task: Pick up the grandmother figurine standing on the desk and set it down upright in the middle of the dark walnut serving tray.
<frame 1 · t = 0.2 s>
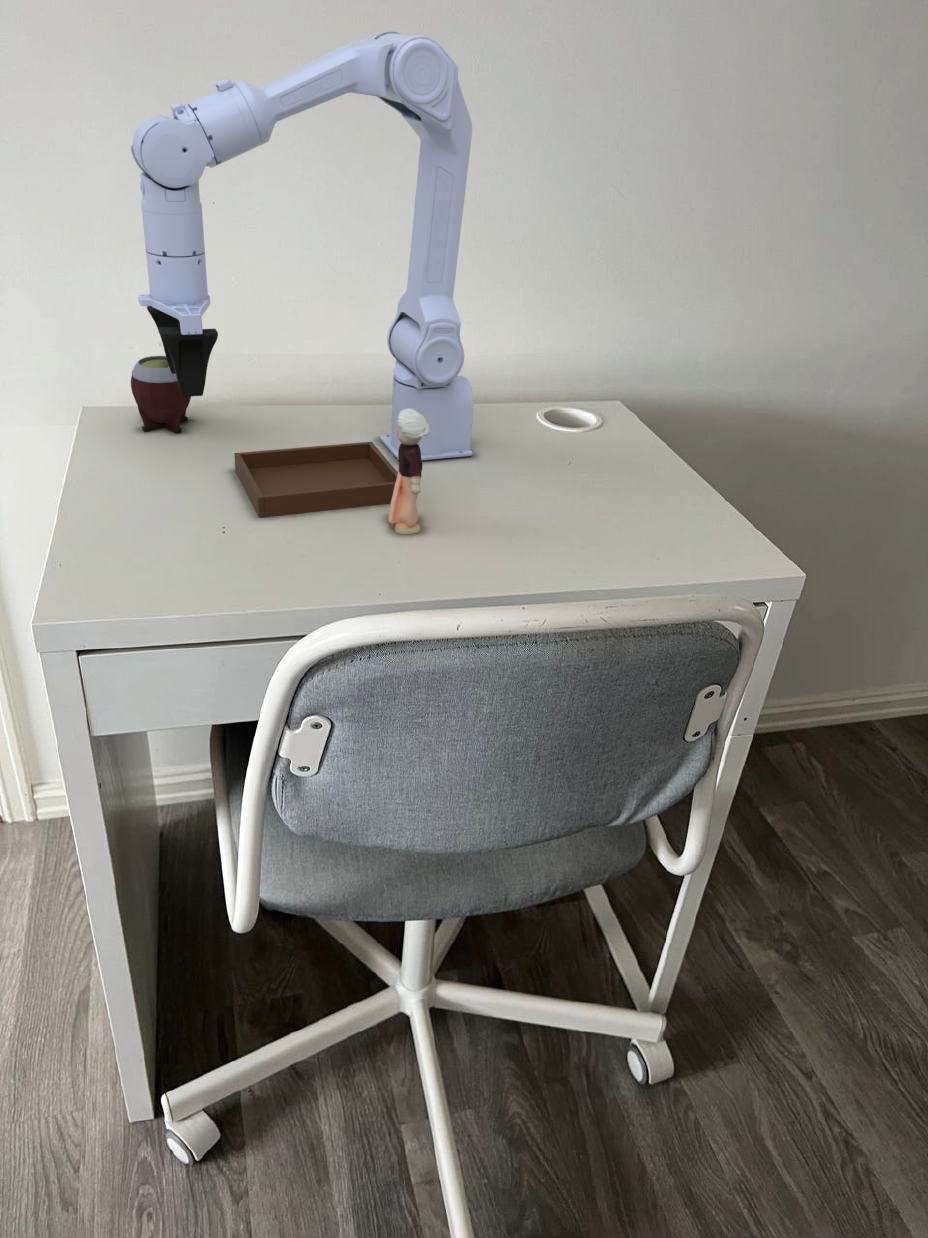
hand: (186, 383, 104), 10 cm above the table, tool pointing down, fingers open, 7 cm apart
grandmother figurine: (406, 528, 101), on the table
tray: (319, 486, 108), on the table
mate gourd: (169, 426, 121), on the table
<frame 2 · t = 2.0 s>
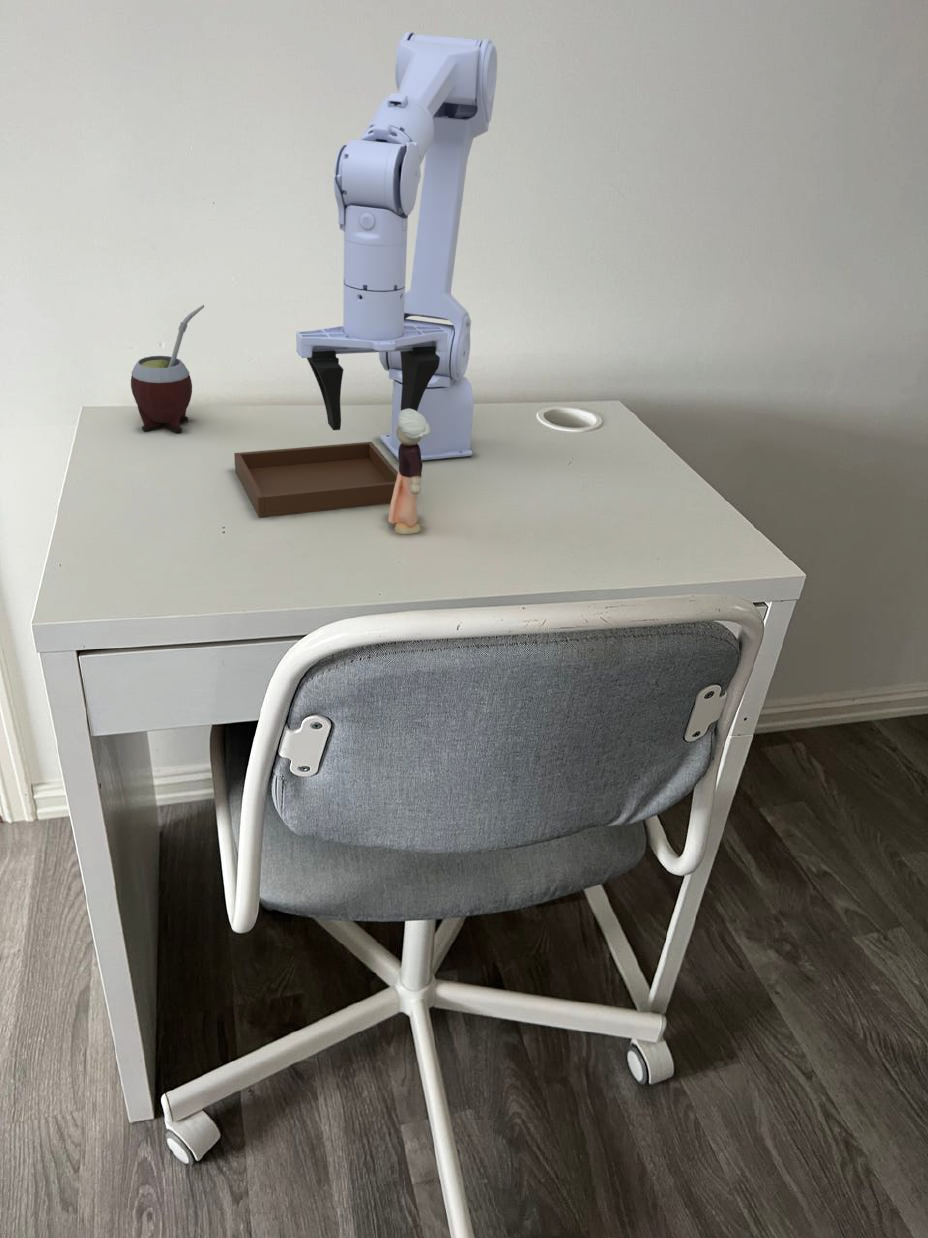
hand: (371, 423, 97), 10 cm above the table, tool pointing down, fingers open, 7 cm apart
nothing on the table moved.
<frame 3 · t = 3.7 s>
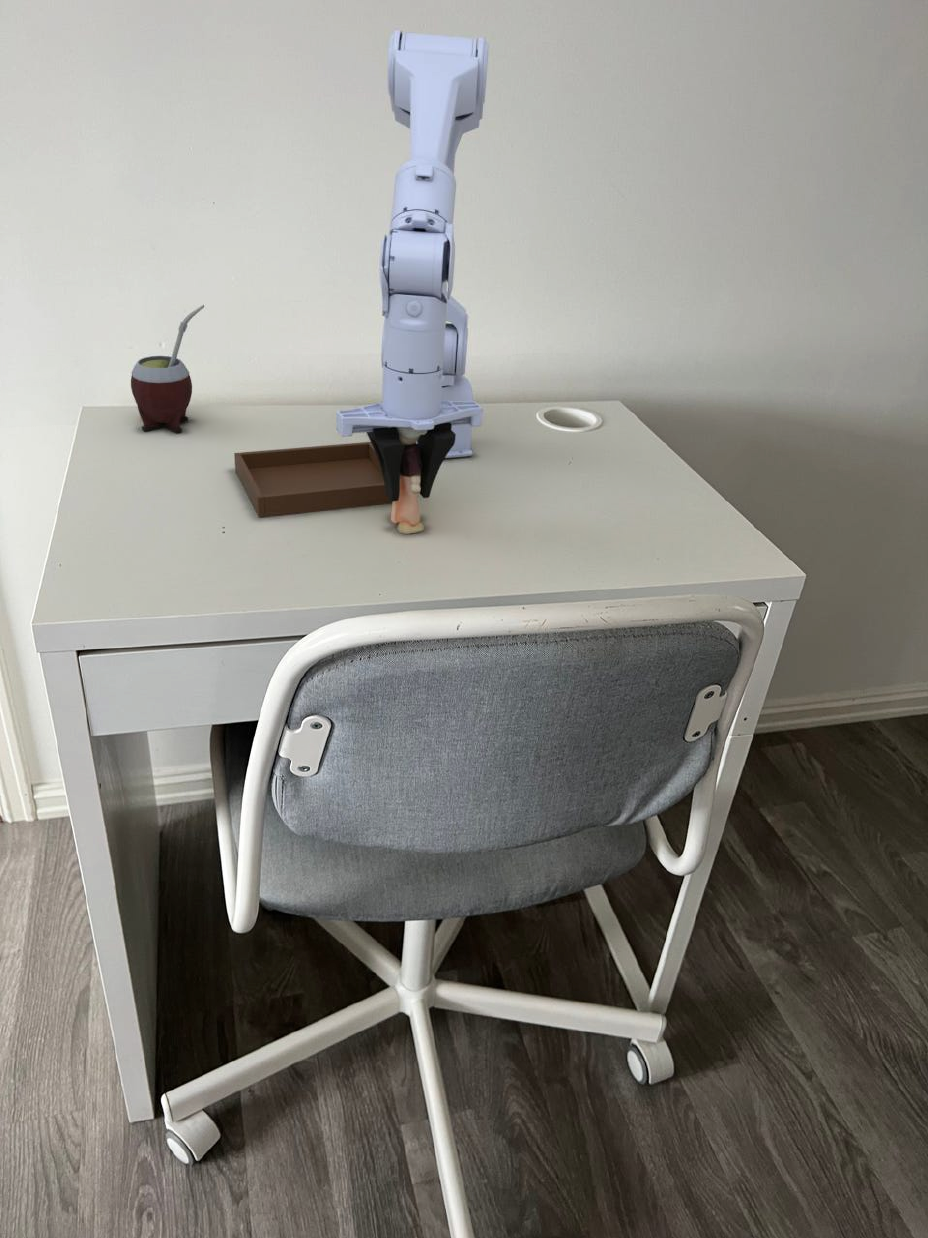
hand: (407, 495, 99), 4 cm above the table, tool pointing down, fingers closed on grandmother figurine, 3 cm apart
grandmother figurine: (409, 527, 102), on the table, touching gripper
everything else where it was.
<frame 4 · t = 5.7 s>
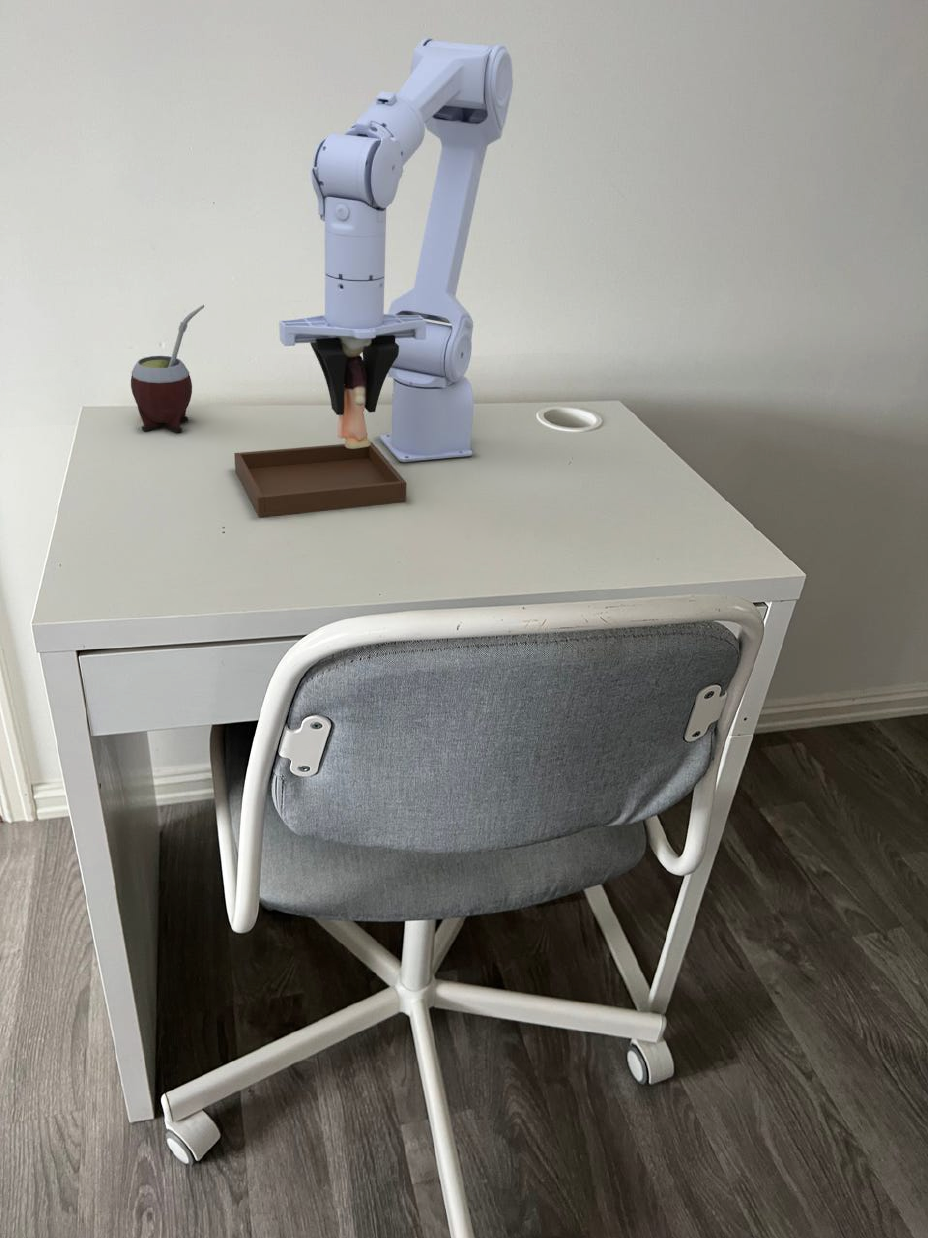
hand: (353, 410, 100), 10 cm above the table, tool pointing down, fingers closed on grandmother figurine, 3 cm apart
grandmother figurine: (356, 443, 102), point 7 cm above the table, touching gripper
everything else where it was.
when the fingers open (4 cm above the table, at t = 8.0 s): grandmother figurine stays where it is, resting on tray.
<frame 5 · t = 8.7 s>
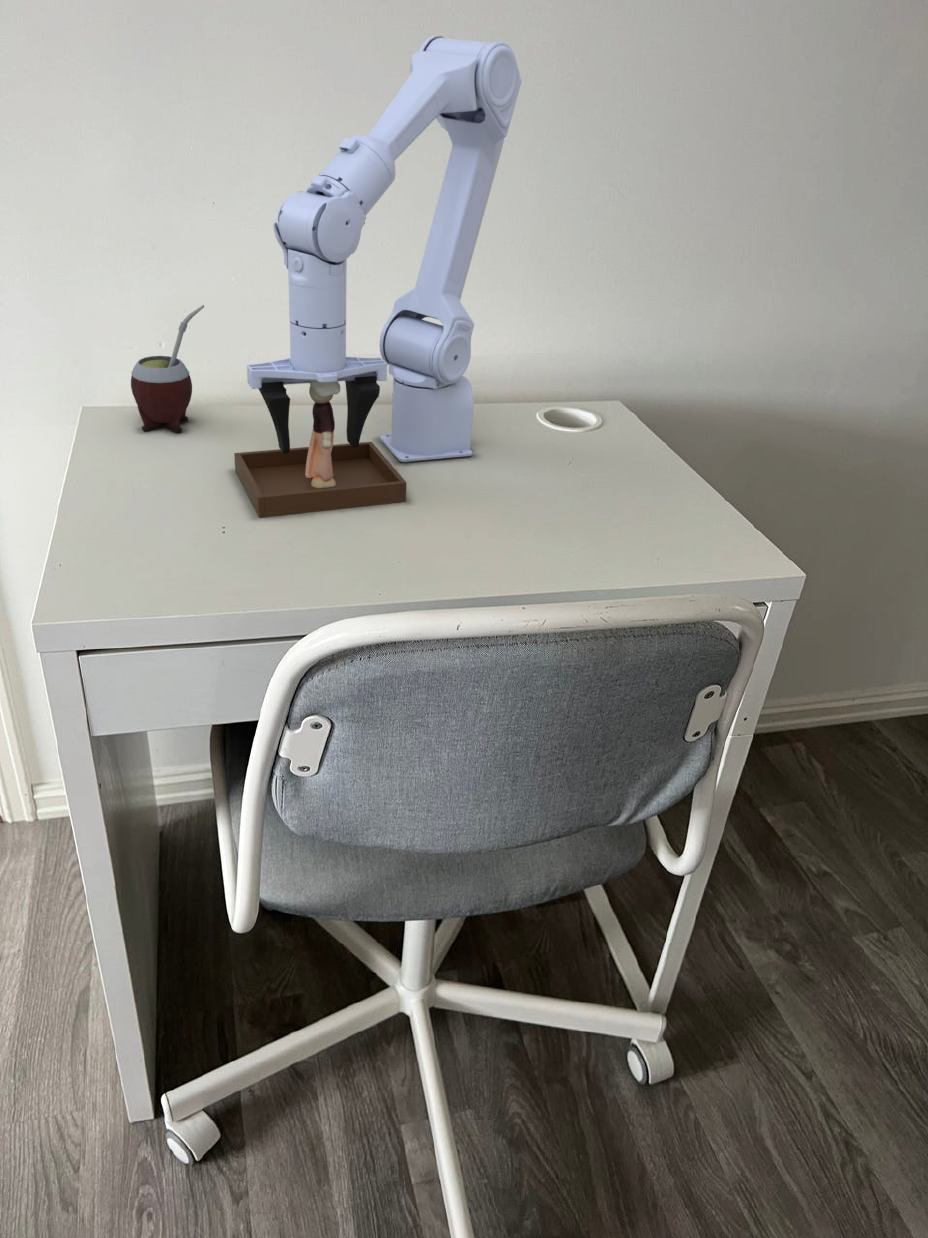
hand: (318, 446, 106), 5 cm above the table, tool pointing down, fingers open, 7 cm apart
grandmother figurine: (322, 483, 108), resting on tray
everything else where it was.
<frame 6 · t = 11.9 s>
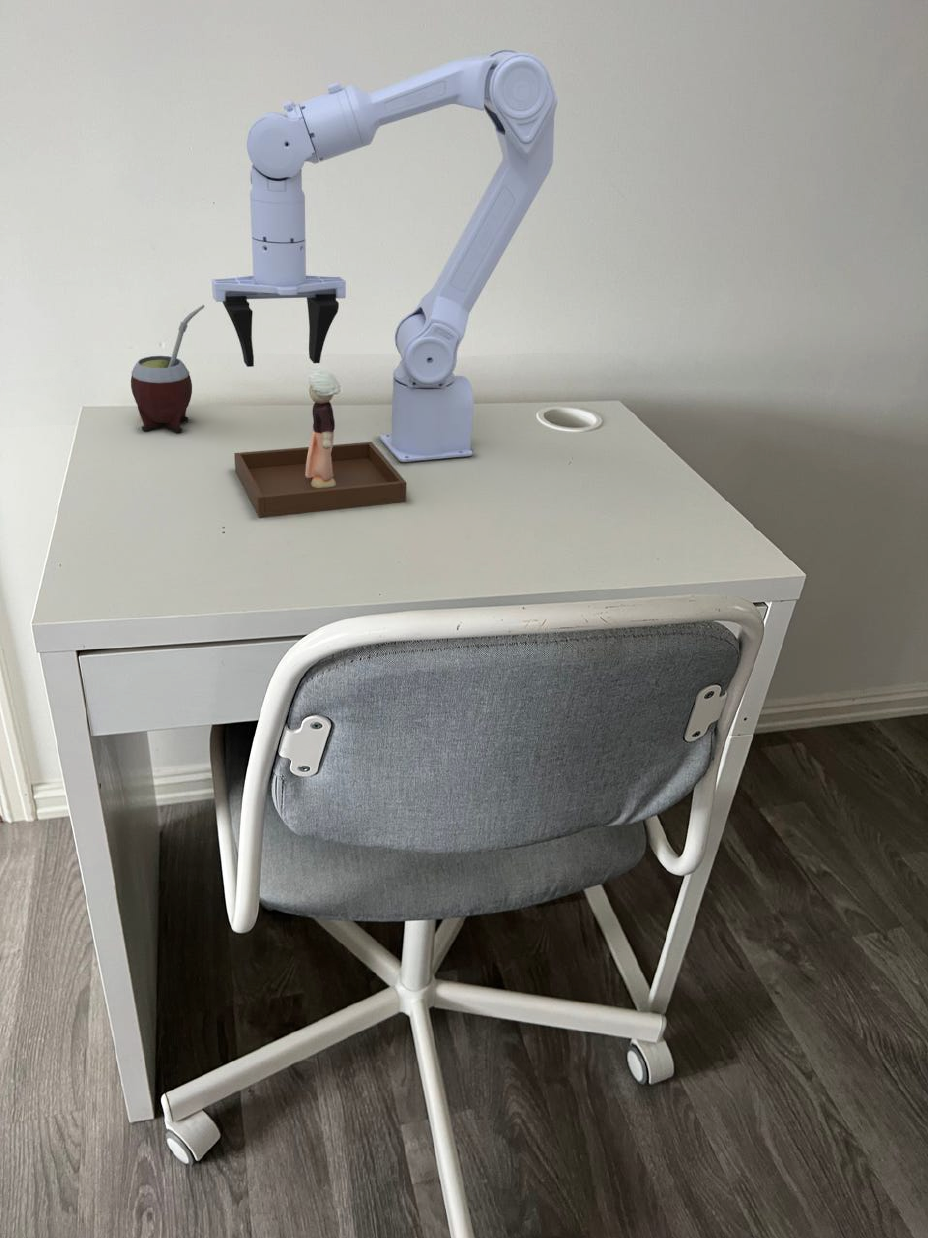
hand: (282, 362, 112), 10 cm above the table, tool pointing down, fingers open, 7 cm apart
nothing on the table moved.
at the end: grandmother figurine inside the target area in the tray (0.4 cm from its centre), point 0.3 cm above the tray's base; grandmother figurine tilted 0°; the gripper is holding nothing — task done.
